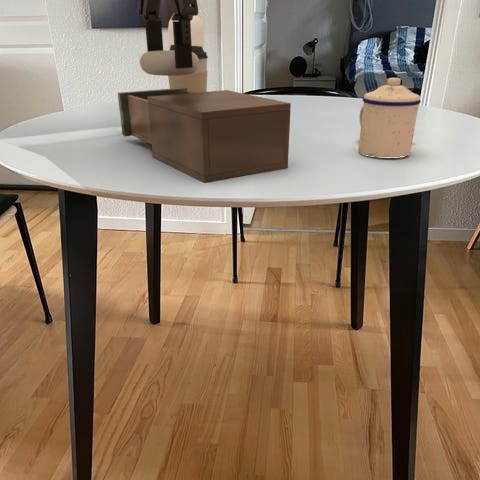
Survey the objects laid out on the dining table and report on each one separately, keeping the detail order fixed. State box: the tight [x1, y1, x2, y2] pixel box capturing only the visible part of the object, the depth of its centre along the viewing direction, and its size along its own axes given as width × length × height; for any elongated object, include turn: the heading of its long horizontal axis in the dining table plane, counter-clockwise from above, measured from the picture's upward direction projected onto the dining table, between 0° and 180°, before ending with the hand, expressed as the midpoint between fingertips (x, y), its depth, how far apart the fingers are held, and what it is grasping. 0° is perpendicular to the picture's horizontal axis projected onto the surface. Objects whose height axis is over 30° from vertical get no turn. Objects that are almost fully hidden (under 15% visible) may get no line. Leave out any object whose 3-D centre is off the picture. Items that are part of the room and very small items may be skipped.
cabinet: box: [147, 89, 292, 183], centre depth 78 cm, size 18×15×9 cm
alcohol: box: [167, 4, 205, 51], centre depth 125 cm, size 9×9×30 cm
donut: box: [139, 49, 199, 77], centre depth 84 cm, size 10×4×10 cm
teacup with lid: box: [357, 77, 422, 157], centre depth 83 cm, size 12×9×12 cm
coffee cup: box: [167, 45, 209, 93], centre depth 108 cm, size 9×9×15 cm
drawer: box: [117, 88, 195, 145], centre depth 89 cm, size 18×14×7 cm
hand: (169, 65), depth 85 cm, fingers closed on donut, 10 cm apart
